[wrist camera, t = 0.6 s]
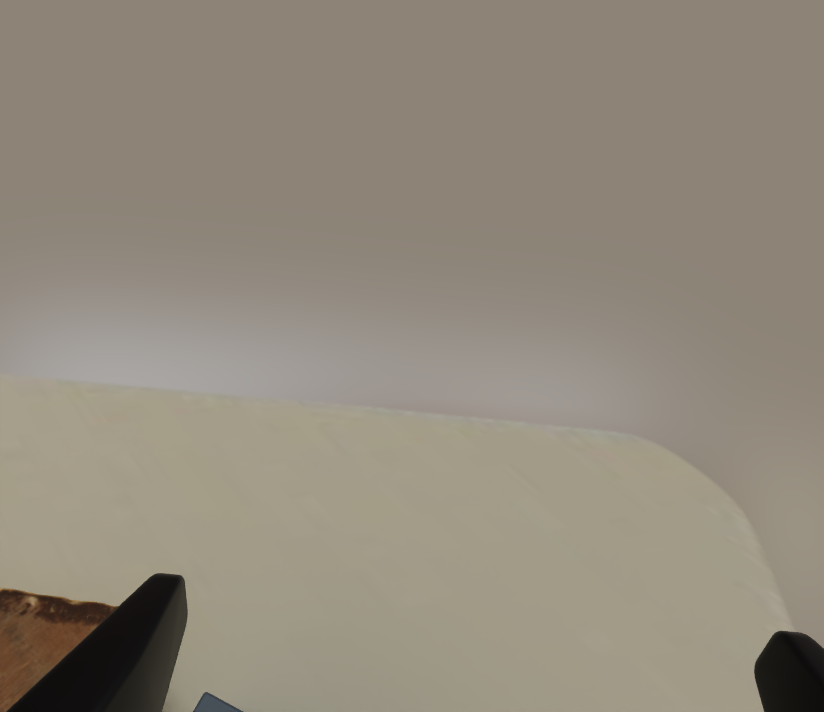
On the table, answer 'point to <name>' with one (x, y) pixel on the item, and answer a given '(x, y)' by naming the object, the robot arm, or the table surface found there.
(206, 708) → the bin
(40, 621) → the shard
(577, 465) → the table surface
